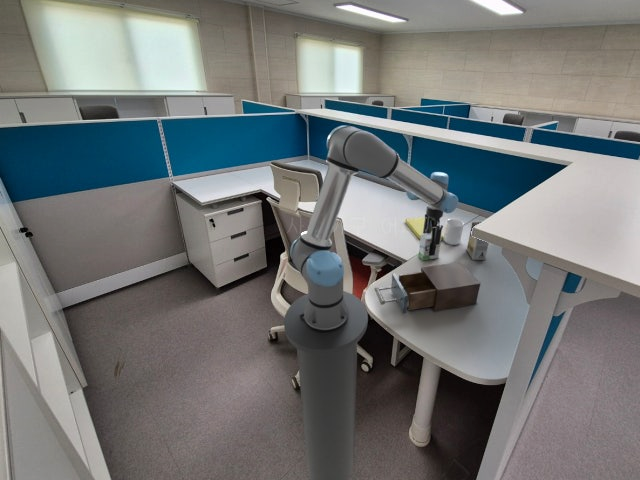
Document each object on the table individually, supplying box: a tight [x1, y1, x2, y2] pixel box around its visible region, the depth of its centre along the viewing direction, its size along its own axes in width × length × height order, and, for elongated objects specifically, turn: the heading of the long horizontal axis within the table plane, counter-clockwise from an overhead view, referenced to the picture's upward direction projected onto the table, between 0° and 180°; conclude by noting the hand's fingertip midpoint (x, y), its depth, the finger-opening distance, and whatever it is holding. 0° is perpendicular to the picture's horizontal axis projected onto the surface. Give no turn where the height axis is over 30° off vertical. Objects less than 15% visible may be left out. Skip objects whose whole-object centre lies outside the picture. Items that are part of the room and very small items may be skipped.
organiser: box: [420, 261, 481, 312], centre depth 118 cm, size 18×15×10 cm
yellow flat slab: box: [405, 216, 444, 241], centre depth 169 cm, size 12×2×24 cm
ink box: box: [418, 233, 442, 261], centre depth 142 cm, size 8×5×12 cm, turn 109°
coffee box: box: [466, 221, 490, 261], centre depth 145 cm, size 9×6×16 cm
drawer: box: [374, 271, 437, 314], centre depth 114 cm, size 24×13×8 cm, turn 106°
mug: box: [443, 218, 465, 246], centre depth 159 cm, size 12×9×11 cm
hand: (428, 251), depth 143 cm, fingers closed on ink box, 5 cm apart
